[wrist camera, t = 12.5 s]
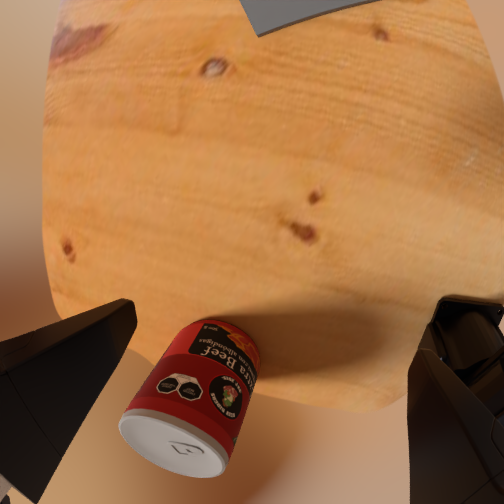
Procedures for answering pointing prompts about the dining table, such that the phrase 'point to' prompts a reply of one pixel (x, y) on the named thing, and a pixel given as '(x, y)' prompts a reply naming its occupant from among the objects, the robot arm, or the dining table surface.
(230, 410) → the canned food
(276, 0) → the charcoal mat
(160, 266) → the dining table surface
